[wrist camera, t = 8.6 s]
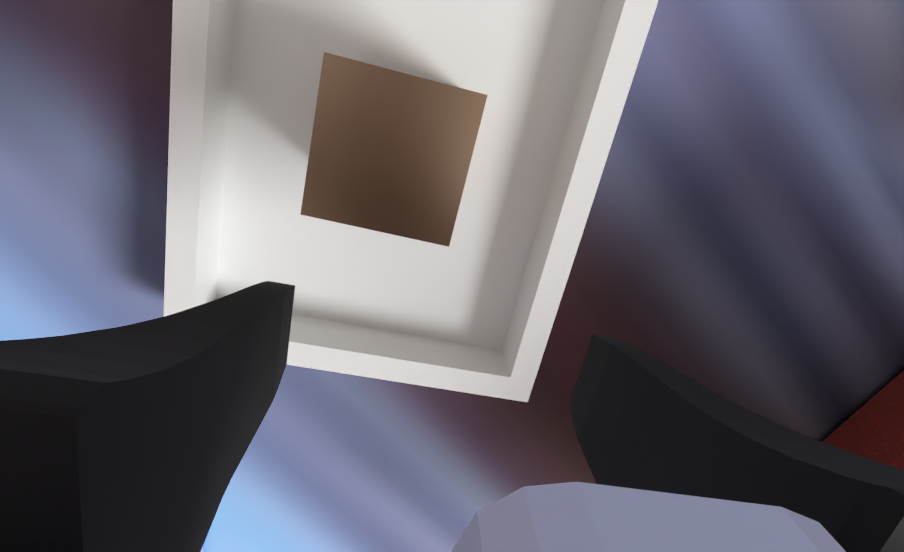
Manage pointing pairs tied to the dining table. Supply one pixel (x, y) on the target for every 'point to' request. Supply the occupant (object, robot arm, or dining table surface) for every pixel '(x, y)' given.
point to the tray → (381, 254)
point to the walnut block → (389, 150)
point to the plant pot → (876, 427)
